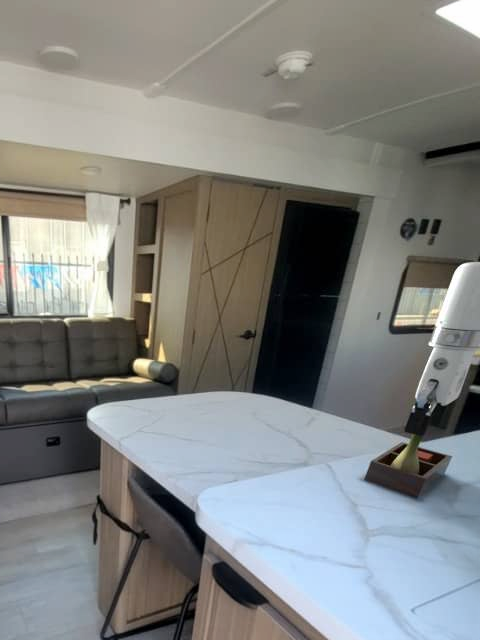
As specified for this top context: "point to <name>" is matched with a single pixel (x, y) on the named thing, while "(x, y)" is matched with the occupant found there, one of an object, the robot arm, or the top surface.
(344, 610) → the top surface
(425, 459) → the red block
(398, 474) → the tray
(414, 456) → the fennel bulb
